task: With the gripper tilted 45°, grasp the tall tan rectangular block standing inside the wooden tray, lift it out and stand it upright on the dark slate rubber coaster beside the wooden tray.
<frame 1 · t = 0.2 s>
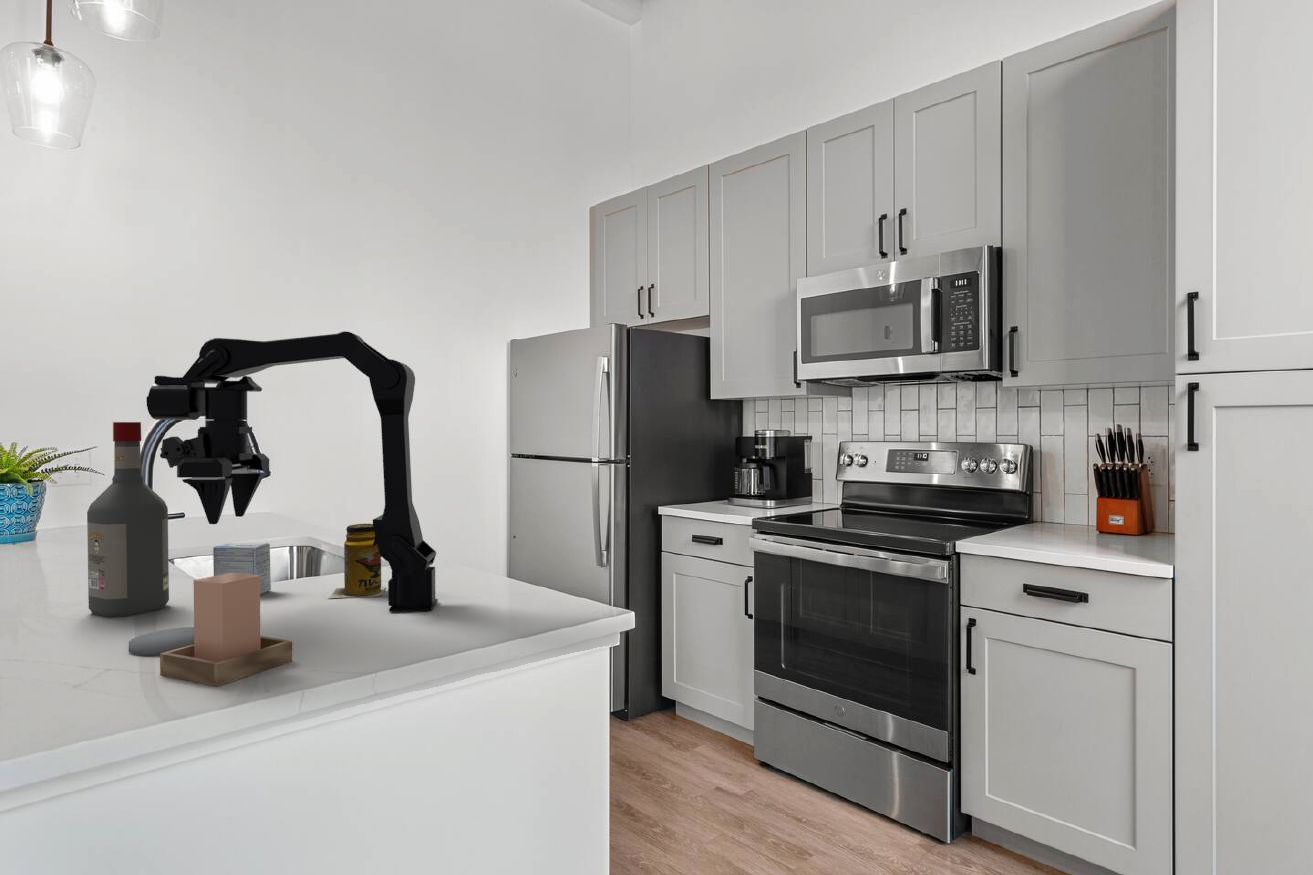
hand: (226, 520, 118), 15 cm above the counter, tool pointing down, fingers open, 9 cm apart
tan rectangular block: (227, 622, 92), in the wooden tray
grey rectangular block: (242, 594, 132), on the counter
liquor: (129, 610, 120), on the counter
condiment: (357, 594, 132), on the counter
wooden tray: (228, 667, 92), on the counter
coaster: (173, 644, 101), on the counter
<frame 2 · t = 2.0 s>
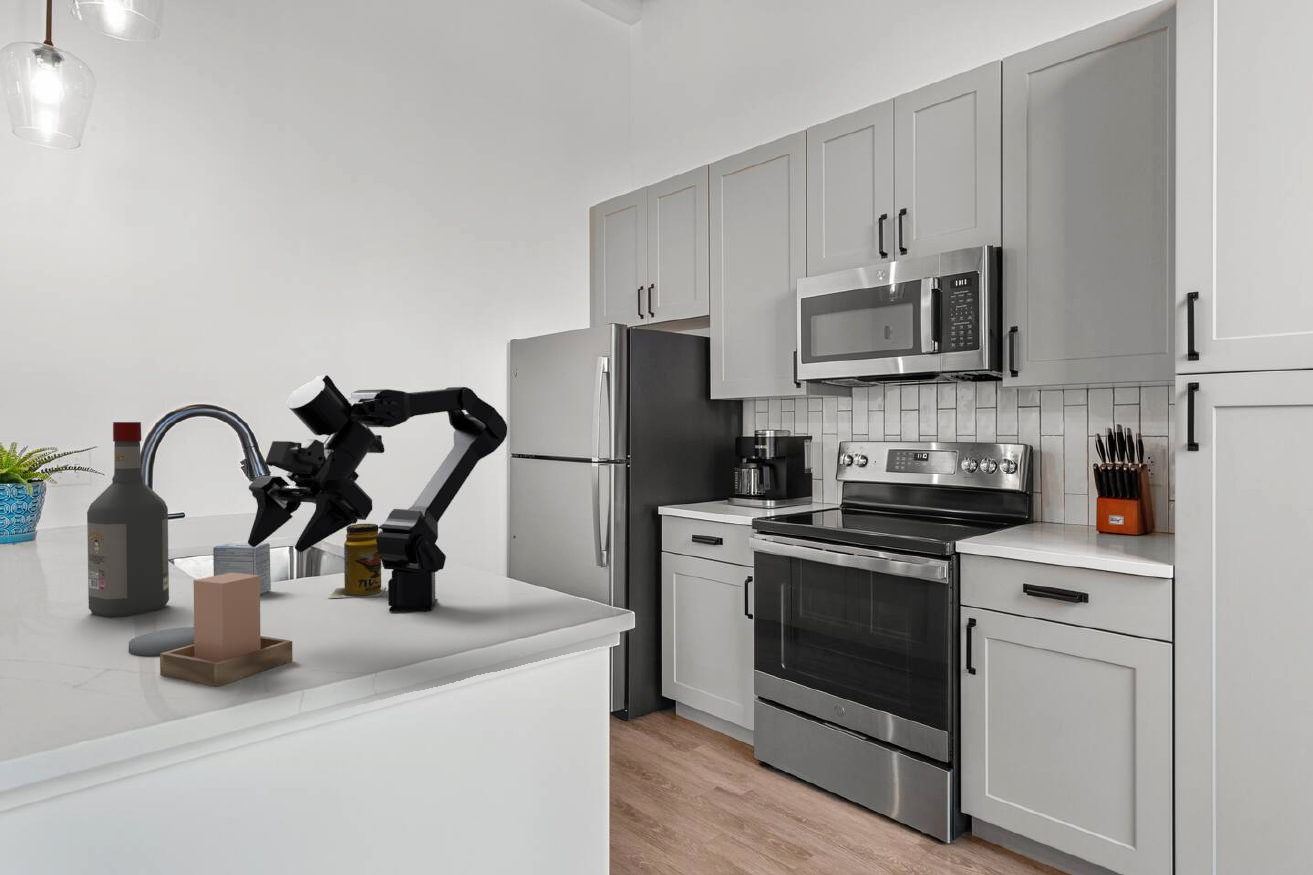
hand: (273, 547, 99), 13 cm above the counter, tool tilted 45°, fingers open, 9 cm apart
nothing on the counter moved.
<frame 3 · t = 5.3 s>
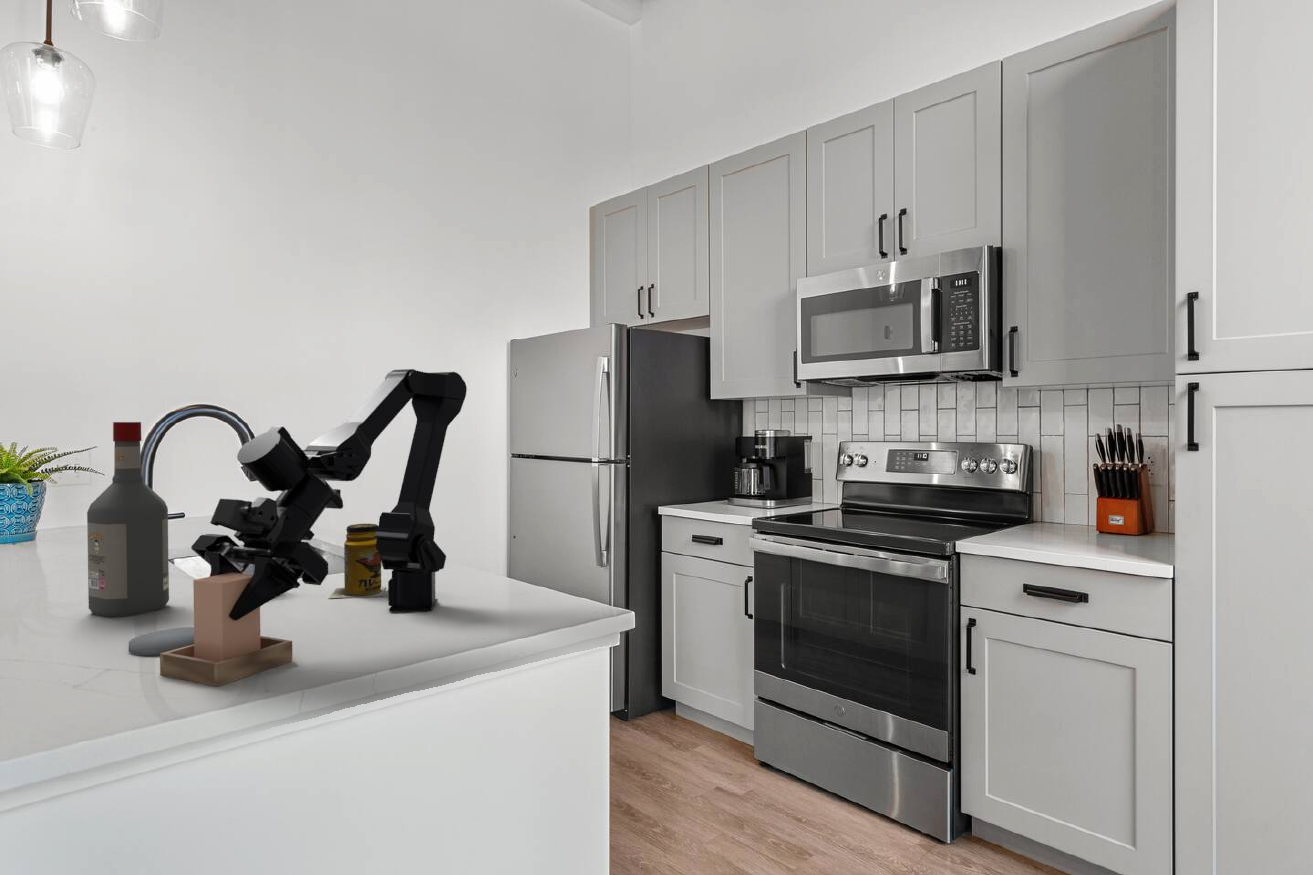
hand: (216, 616, 90), 7 cm above the counter, tool tilted 45°, fingers closed on tan rectangular block, 5 cm apart
tan rectangular block: (227, 622, 92), in the wooden tray, touching gripper
everything else where it was.
when the fingers open (8 cm above the counter, at t = 10.8 s): tan rectangular block stays where it is, resting on coaster.
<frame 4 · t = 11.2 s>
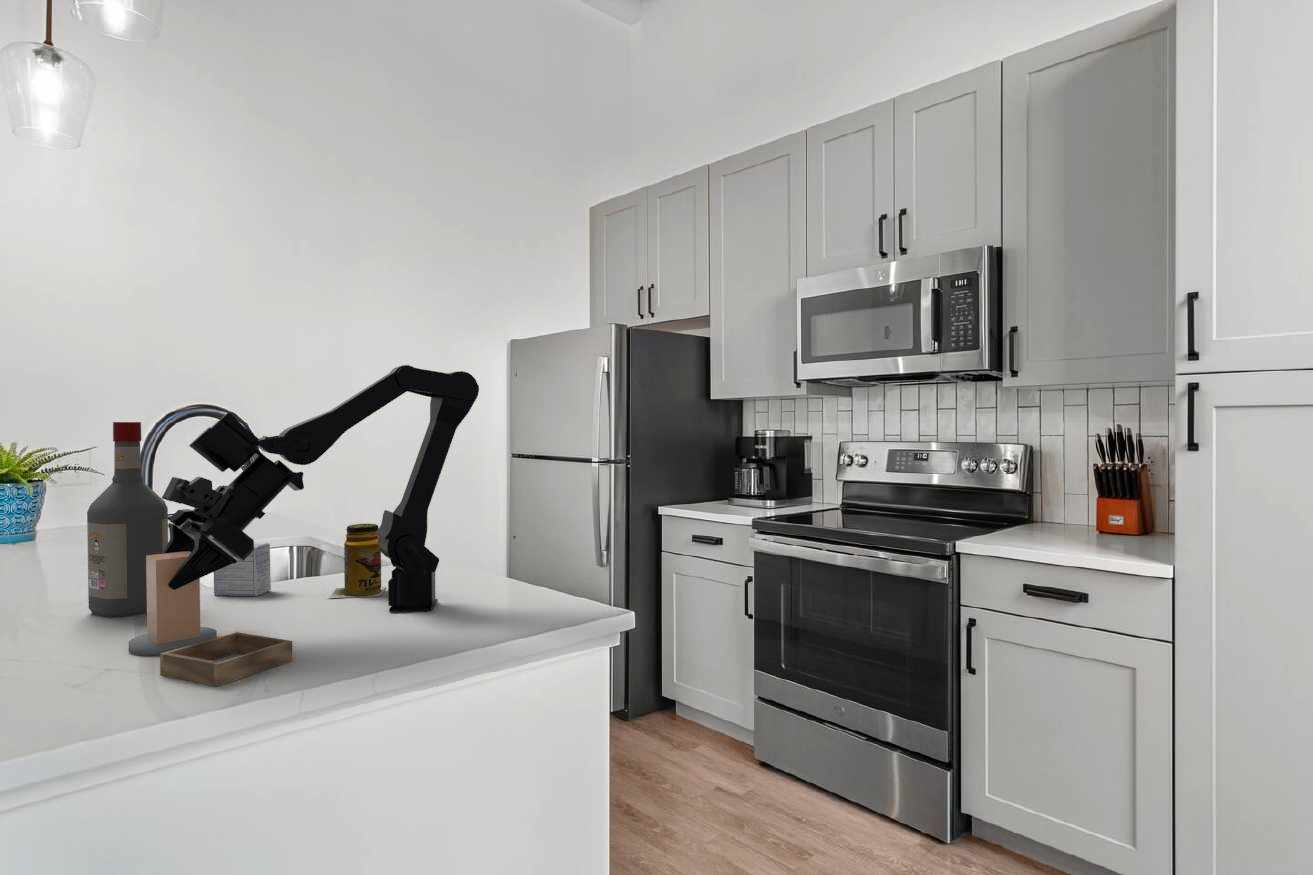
hand: (161, 582, 100), 9 cm above the counter, tool tilted 45°, fingers open, 9 cm apart
tan rectangular block: (173, 596, 101), on the coaster, point 6 cm above the counter
everything else where it was.
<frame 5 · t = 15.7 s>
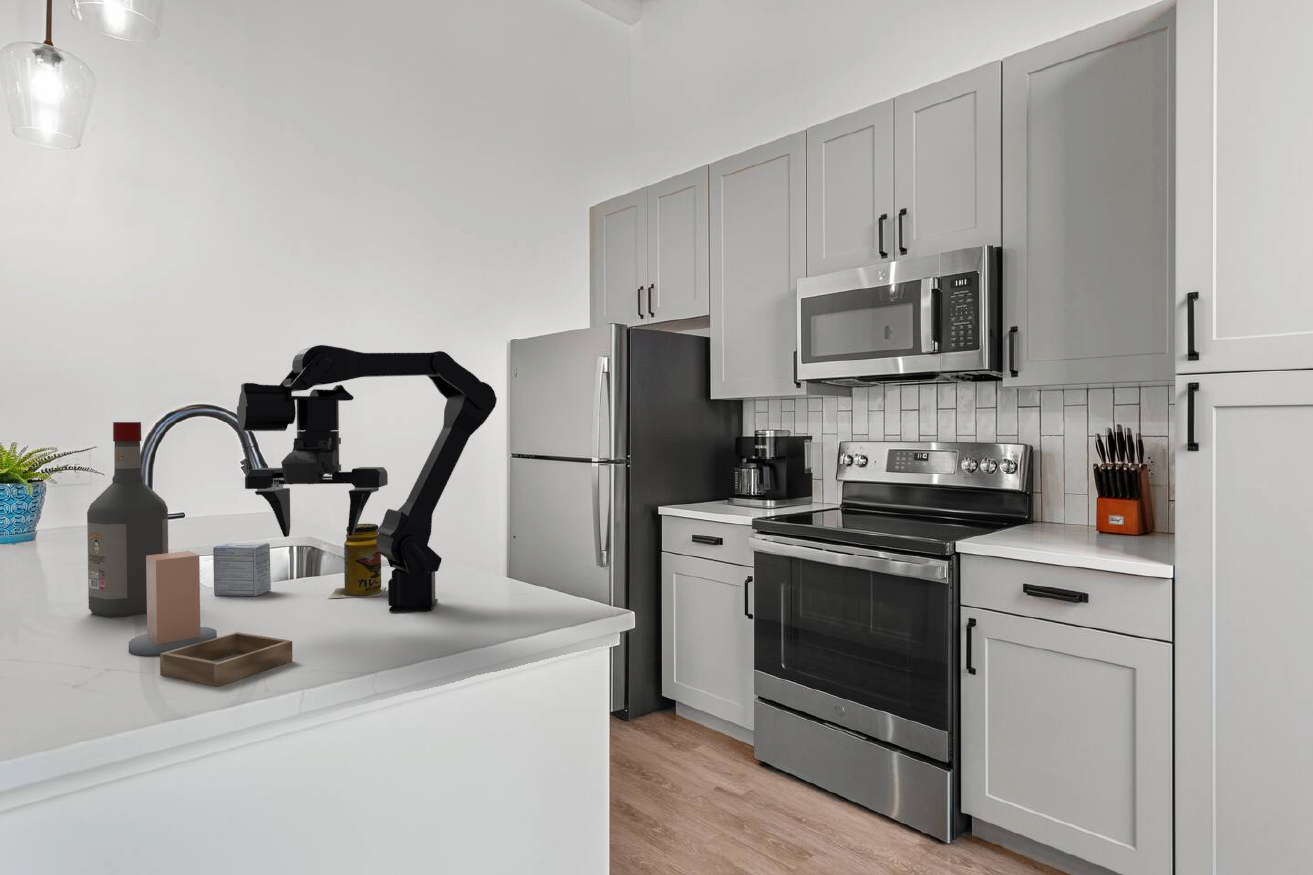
hand: (319, 535, 112), 13 cm above the counter, tool pointing down, fingers open, 9 cm apart
nothing on the counter moved.
at the end: tan rectangular block 0.0 cm off-centre on the coaster, point 6.5 cm above the coaster's base; tan rectangular block tilted 0°; the gripper is holding nothing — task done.
